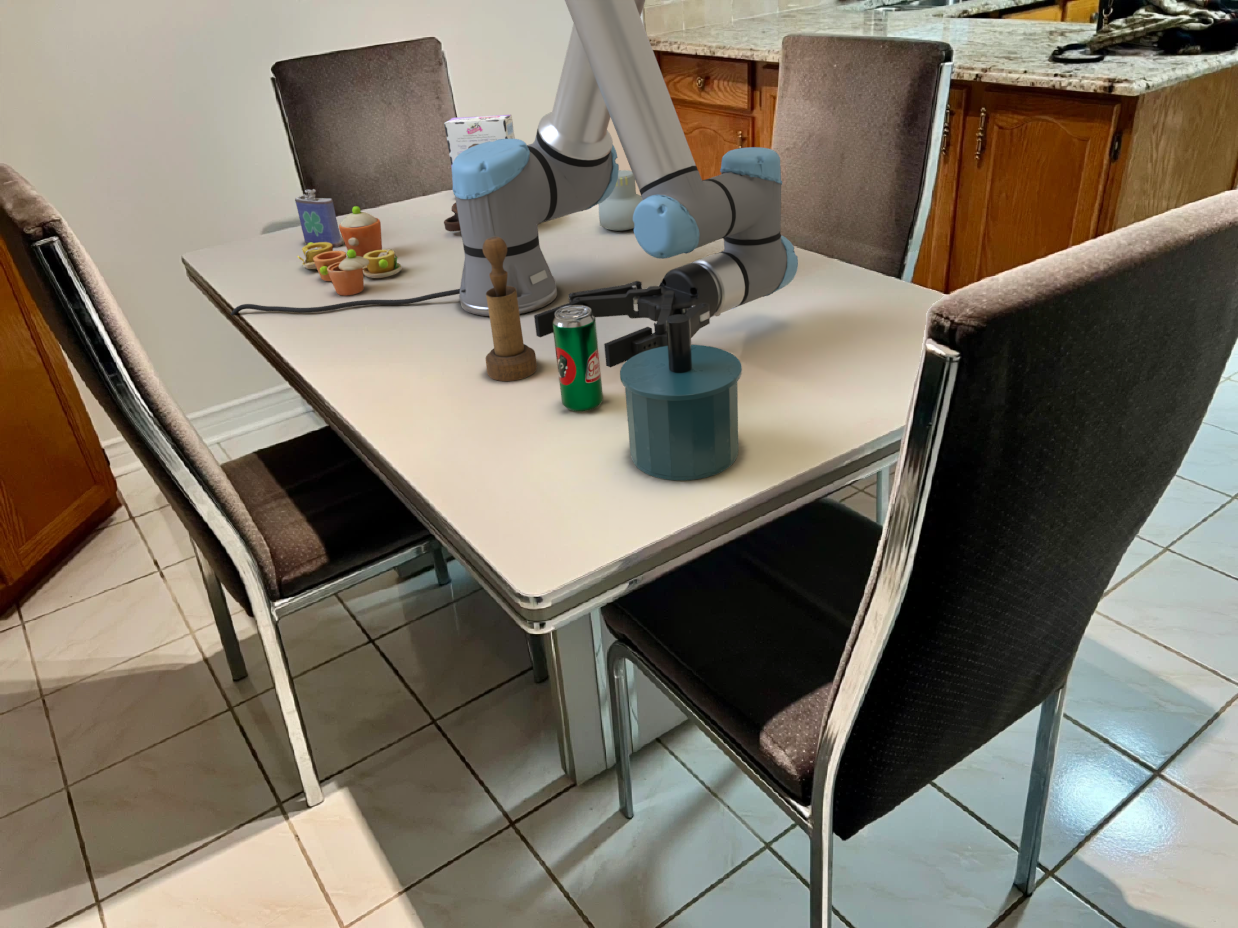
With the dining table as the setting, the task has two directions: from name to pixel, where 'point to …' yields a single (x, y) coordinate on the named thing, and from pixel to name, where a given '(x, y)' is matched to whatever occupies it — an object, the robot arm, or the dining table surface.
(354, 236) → the toy tea set
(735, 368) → the pot lid
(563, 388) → the soda can
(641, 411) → the pot
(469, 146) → the candy box
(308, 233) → the flask
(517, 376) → the mortar and pestle
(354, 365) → the dining table surface
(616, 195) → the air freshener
